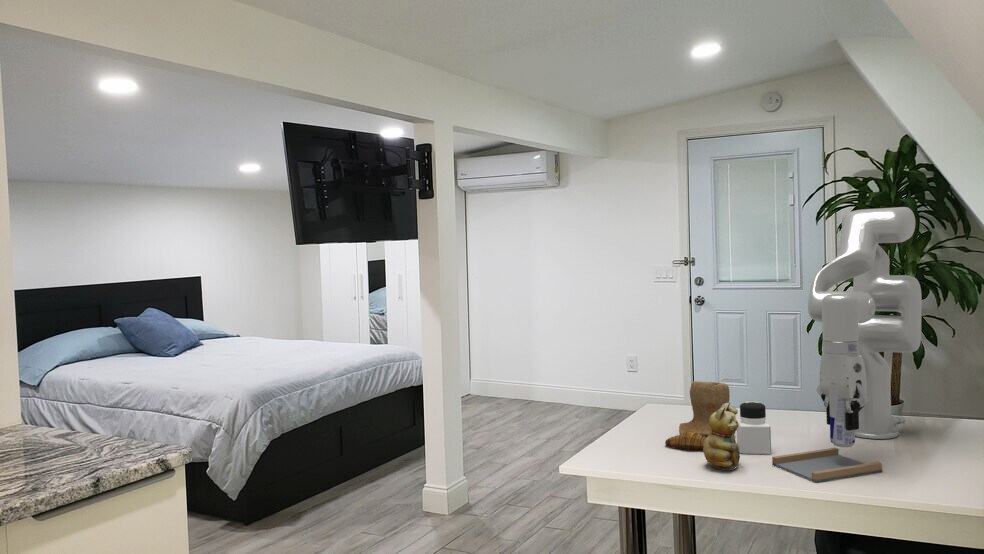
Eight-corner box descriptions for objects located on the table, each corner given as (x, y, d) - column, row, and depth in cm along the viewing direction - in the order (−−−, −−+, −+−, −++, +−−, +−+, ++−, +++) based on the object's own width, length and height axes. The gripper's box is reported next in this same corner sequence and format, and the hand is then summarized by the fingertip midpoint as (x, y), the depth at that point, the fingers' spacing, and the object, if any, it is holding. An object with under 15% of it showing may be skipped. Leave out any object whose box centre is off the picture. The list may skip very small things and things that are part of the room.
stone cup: (730, 429, 202) (728, 376, 202) (738, 440, 190) (736, 384, 190) (674, 429, 204) (673, 377, 204) (679, 440, 192) (677, 385, 192)
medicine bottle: (771, 454, 177) (770, 406, 176) (741, 454, 178) (739, 406, 178) (766, 446, 183) (765, 400, 183) (737, 446, 185) (735, 400, 185)
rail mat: (835, 455, 173) (834, 447, 173) (882, 472, 160) (882, 463, 160) (772, 465, 168) (772, 456, 168) (815, 482, 155) (815, 473, 155)
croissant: (662, 451, 185) (661, 431, 185) (668, 444, 191) (667, 425, 191) (716, 455, 179) (716, 435, 179) (720, 448, 185) (720, 429, 185)
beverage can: (853, 442, 167) (851, 378, 166) (856, 448, 162) (855, 382, 162) (829, 441, 168) (827, 378, 168) (831, 447, 164) (830, 382, 163)
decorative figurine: (736, 474, 162) (734, 408, 162) (699, 470, 166) (697, 406, 166) (743, 462, 171) (741, 400, 170) (708, 459, 175) (706, 398, 174)
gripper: (884, 351, 158) (885, 433, 158) (826, 343, 174) (828, 417, 174) (856, 353, 155) (858, 437, 156) (800, 345, 172) (802, 420, 172)
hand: (842, 426), depth 165 cm, fingers closed on beverage can, 5 cm apart
